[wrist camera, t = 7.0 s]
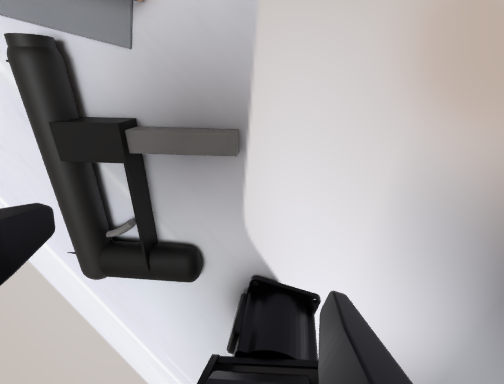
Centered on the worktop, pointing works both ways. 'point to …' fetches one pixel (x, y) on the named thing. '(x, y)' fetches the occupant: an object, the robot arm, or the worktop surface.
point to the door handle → (106, 151)
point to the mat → (77, 17)
